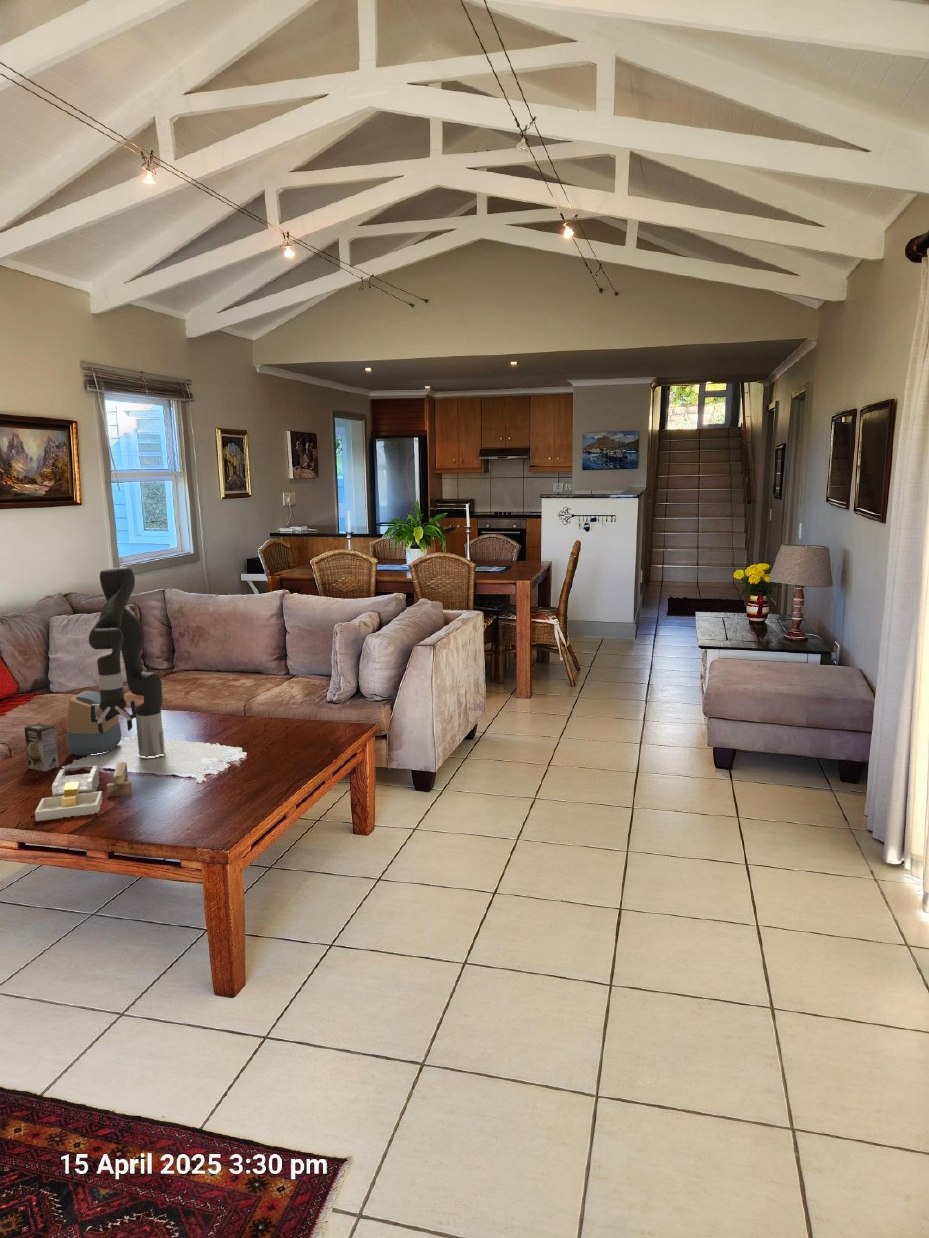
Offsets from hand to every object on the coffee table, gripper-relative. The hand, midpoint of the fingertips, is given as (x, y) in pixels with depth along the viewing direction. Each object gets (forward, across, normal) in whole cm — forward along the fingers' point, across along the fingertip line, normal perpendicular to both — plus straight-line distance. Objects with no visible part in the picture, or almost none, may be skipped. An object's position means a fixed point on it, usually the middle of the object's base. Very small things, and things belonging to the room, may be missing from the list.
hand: (115, 731), depth 273 cm
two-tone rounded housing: (+21, +13, -48) cm, 54 cm away
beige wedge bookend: (+20, 0, 0) cm, 21 cm away
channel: (+20, +14, 0) cm, 25 cm away
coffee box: (+21, +30, -33) cm, 49 cm away
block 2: (+18, +14, +13) cm, 26 cm away
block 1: (+17, +14, +10) cm, 24 cm away
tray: (+20, +14, +15) cm, 29 cm away
